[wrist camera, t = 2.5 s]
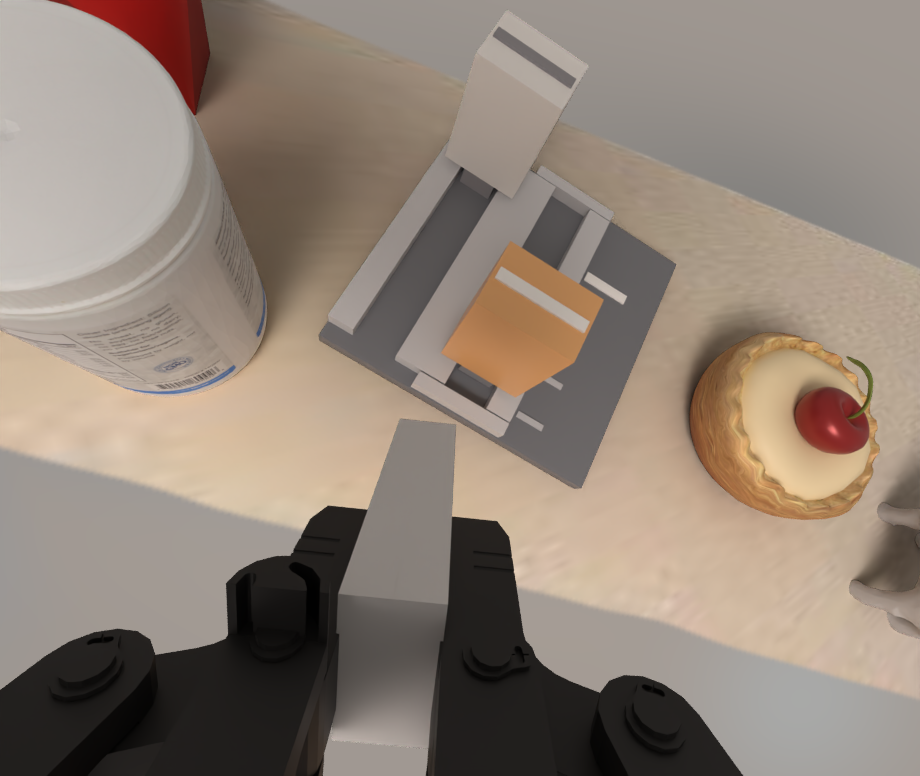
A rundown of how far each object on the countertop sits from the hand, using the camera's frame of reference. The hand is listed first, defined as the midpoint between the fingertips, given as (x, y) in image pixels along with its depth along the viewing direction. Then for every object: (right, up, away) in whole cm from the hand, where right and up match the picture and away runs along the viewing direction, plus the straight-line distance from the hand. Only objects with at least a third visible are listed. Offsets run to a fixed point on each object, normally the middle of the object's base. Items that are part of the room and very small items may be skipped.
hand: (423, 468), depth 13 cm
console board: (+5, +8, +19) cm, 21 cm away
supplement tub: (-15, +6, +14) cm, 21 cm away
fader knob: (+3, +4, +16) cm, 17 cm away
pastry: (+21, -1, +21) cm, 30 cm away
